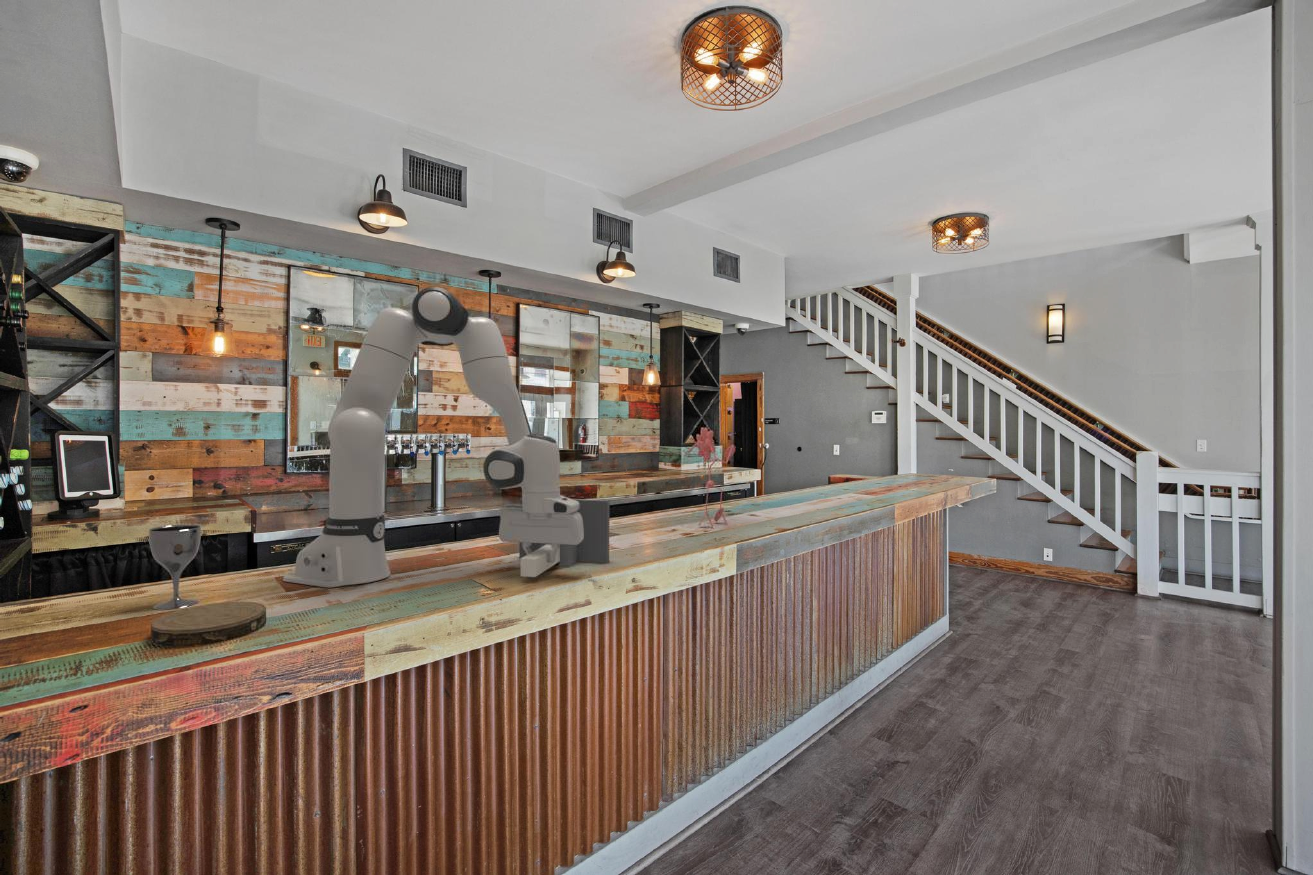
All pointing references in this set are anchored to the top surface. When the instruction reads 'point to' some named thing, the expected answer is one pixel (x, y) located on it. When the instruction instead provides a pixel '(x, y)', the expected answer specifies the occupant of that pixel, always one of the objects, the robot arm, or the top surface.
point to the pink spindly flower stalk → (705, 450)
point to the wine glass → (175, 556)
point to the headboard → (585, 536)
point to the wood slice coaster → (208, 624)
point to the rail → (538, 561)
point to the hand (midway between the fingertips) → (541, 561)
